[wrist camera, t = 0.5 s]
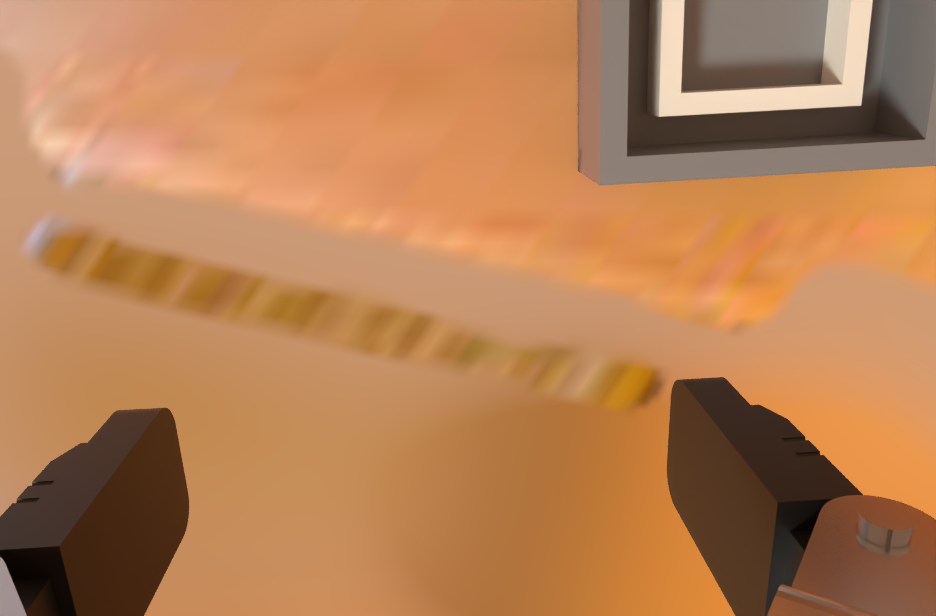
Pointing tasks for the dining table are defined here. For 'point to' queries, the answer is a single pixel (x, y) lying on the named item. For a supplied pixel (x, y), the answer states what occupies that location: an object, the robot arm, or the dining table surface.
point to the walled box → (753, 87)
